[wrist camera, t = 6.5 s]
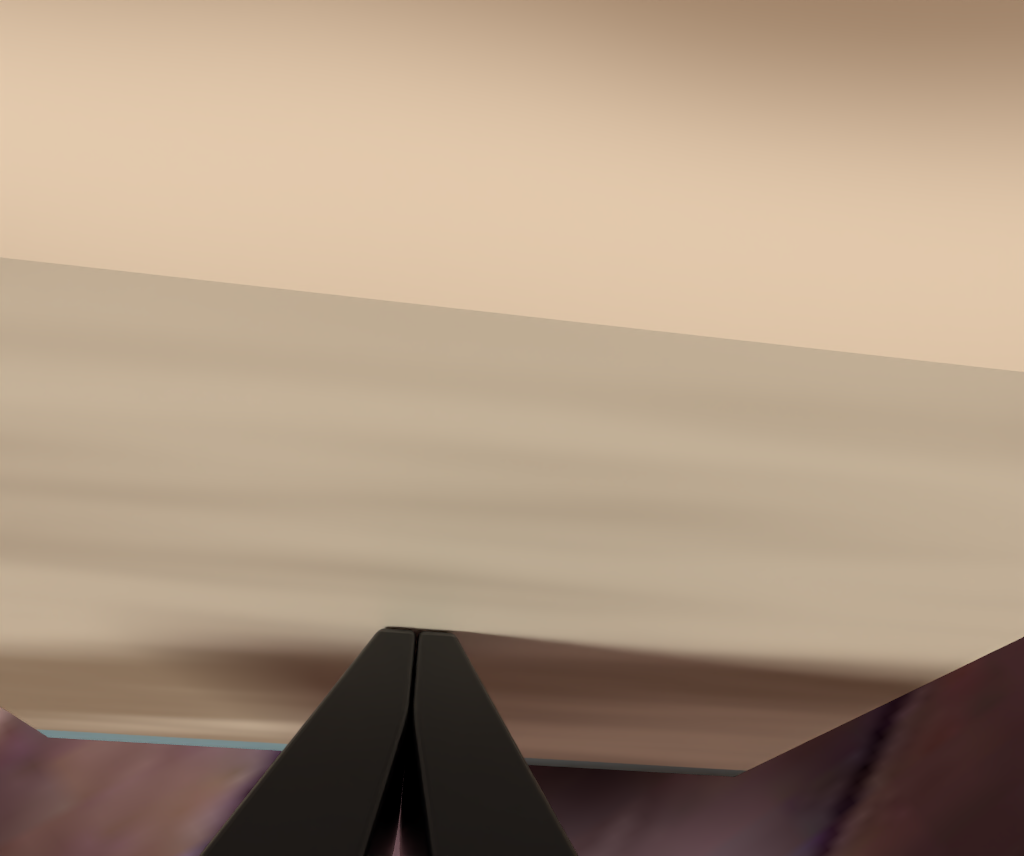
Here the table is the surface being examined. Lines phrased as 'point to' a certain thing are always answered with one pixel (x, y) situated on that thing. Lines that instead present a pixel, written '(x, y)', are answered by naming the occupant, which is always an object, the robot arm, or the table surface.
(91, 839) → the table surface
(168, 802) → the table surface
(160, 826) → the table surface
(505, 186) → the birch block
